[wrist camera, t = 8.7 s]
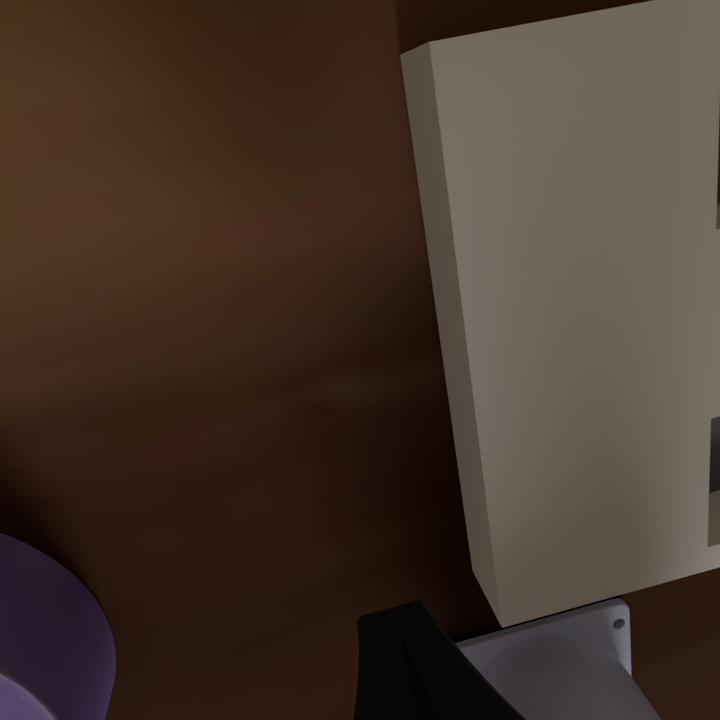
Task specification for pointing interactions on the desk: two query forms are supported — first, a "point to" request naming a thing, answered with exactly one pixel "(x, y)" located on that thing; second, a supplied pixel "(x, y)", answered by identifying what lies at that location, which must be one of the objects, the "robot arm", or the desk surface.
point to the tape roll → (50, 640)
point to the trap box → (578, 294)
